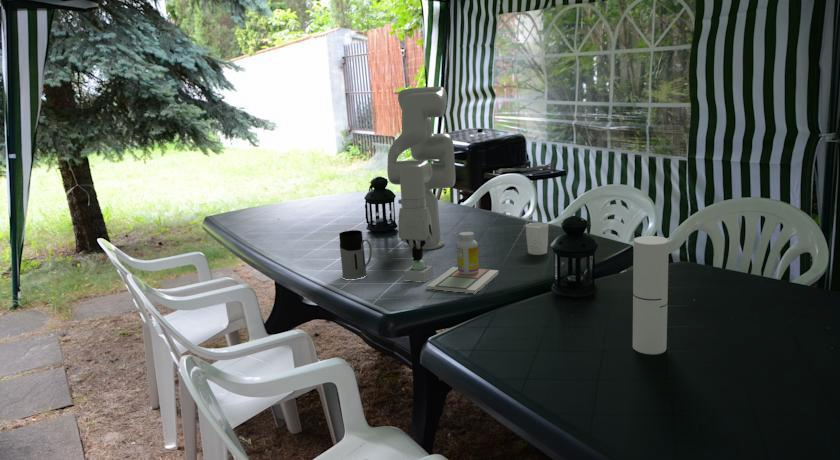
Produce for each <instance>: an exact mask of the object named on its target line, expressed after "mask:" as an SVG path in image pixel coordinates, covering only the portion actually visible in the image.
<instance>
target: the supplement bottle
mask: <svg viewBox="0 0 840 460" xmlns="http://www.w3.org/2000/svg"><path fill="white" fill-rule="evenodd" d="M474 237H475V233H474V232H472V231H463V232H459V234H458V239H459V241H458V242H457V243H456V254H457V255H456V256H457V259H456V260H457V267H458V271H459V273H460V274H463V275H472V274H476V273H478V272H479V268H480V264H479V263H480V262H479V245H478V241H476V240H475V239H474Z"/></svg>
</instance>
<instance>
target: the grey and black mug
mask: <svg viewBox="0 0 840 460" xmlns="http://www.w3.org/2000/svg"><path fill="white" fill-rule="evenodd" d="M338 237H339V250H340V251H339V252H340V261H341V270H342V276H341V278H342V277H343V278H345V279H357V278H361V277H364V276H366V275H367V274H368V272H367V266H368V265H369V263H370V262H371V259H372V256H373V255H372V253H373V251H372V249H373V247H372V244H371V242H370V240H368V239H363V231H361V230H358V229H357V230H355V229H352V230H345V231H341V232H339V235H338ZM365 241H366V242H367V243H368V248H369V256H368V260H367V262H366V255H365V254H366V253H365V245H364V242H365Z"/></svg>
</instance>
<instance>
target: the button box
mask: <svg viewBox="0 0 840 460" xmlns="http://www.w3.org/2000/svg"><path fill="white" fill-rule="evenodd" d="M434 272H435V271H434V266H433V265H425V269H424V270H423V271H415V270H412V265H411V266H409V267H408V268H406V269H405V270H403V275H404V276H403V277H404V281H405V280H410V281H421V282H424V281H426V280H427V279H429V278H431V277H432V276H435V275H434ZM432 278H433V277H432ZM432 278H431V279H432ZM429 280H430V279H429Z"/></svg>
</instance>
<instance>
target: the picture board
mask: <svg viewBox="0 0 840 460" xmlns="http://www.w3.org/2000/svg"><path fill="white" fill-rule="evenodd" d="M498 275H499V270H496V269H490V268H481V267H479V272H478V273H476V274H472V275H463V274H460V273H459V271H458V266H452V267H451V268H448V270H446V271H445V272H444V273H442V274H441V275H439V276H438V277H436V278H435V279H434V280H432V281H431V282H430V283H429V284H427V285H426V289H427V288H428V289H437V290H444V291H443V292H447V291H453V292H452V293H457V292H465V293H464V294H468V293H473V294H472V295H477V294H478V293H479V292H480V291H481V290H482V289H484V287H486V286H487V285H488V284H489V283H490V282H491V281H493V280H494V279H495V278H496V277H497V276H498ZM485 285H486V286H485ZM478 291H479V292H478ZM477 292H478V293H477ZM476 293H477V294H476Z"/></svg>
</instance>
